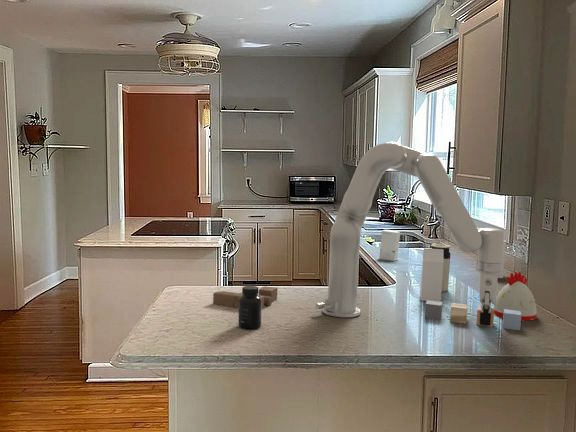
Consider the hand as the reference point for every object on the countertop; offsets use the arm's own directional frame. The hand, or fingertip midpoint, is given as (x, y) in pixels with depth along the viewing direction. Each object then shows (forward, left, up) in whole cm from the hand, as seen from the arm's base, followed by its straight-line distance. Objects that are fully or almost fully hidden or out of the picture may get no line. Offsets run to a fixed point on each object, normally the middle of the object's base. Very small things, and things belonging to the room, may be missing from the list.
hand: (484, 321), depth 186 cm
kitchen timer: (+18, +2, -1) cm, 19 cm away
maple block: (-5, +6, -1) cm, 8 cm away
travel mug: (+22, +40, -1) cm, 46 cm away
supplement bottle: (-70, +30, -1) cm, 76 cm away
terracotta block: (0, 0, -1) cm, 1 cm away
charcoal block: (-10, +13, -1) cm, 16 cm away
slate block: (+5, -6, -1) cm, 8 cm away
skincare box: (+50, +98, -1) cm, 110 cm away
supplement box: (+67, +49, -1) cm, 84 cm away
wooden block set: (-56, +55, -2) cm, 79 cm away
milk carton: (+7, +30, -1) cm, 31 cm away
